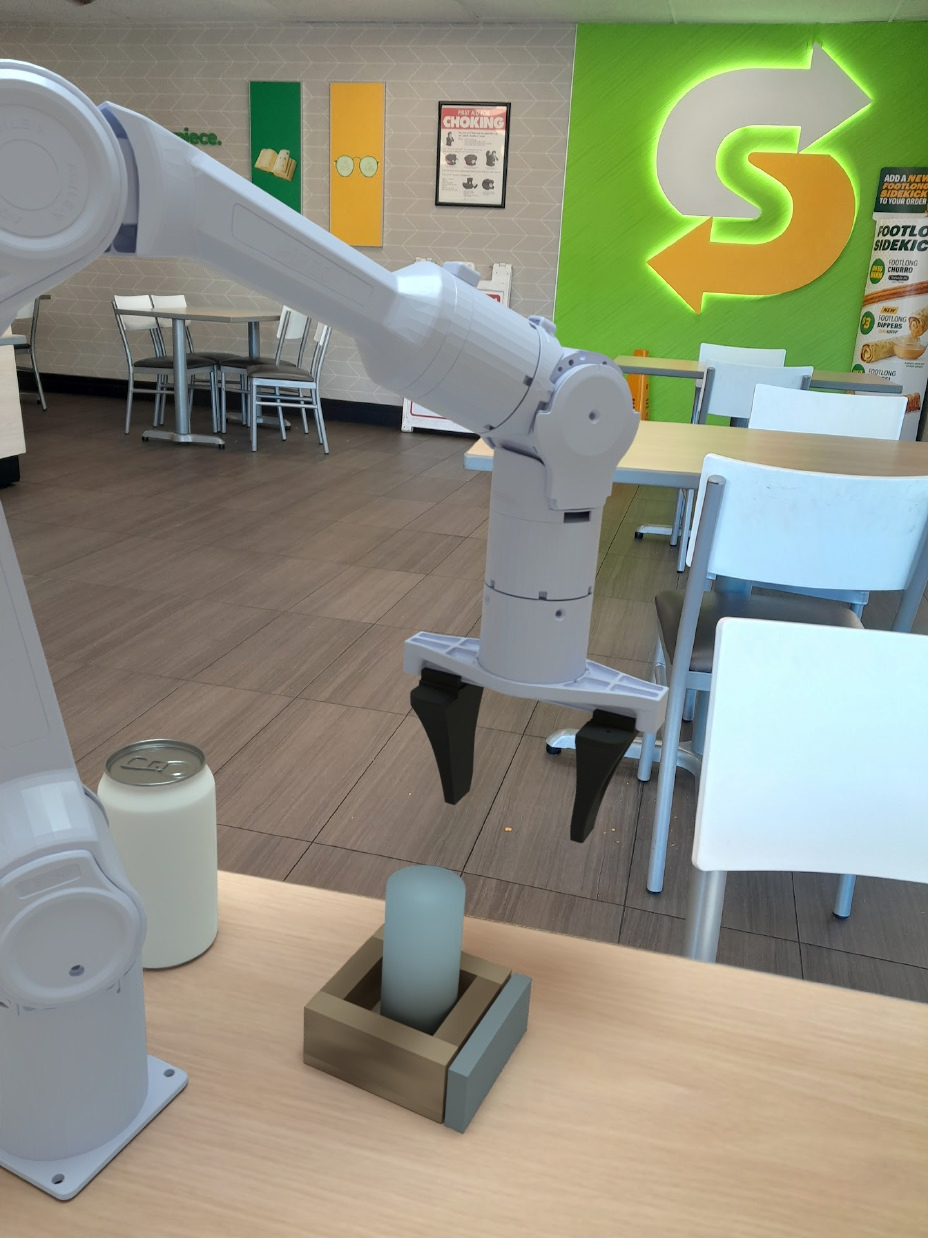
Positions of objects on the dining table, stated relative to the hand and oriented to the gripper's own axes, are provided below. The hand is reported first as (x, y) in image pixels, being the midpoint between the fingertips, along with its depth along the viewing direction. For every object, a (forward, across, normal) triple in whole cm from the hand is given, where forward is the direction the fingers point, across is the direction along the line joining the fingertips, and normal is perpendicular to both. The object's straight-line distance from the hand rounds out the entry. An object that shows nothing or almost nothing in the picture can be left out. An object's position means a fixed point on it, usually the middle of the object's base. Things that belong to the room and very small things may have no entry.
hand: (517, 814), depth 56 cm
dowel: (+10, +2, +8) cm, 13 cm away
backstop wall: (+10, -3, +8) cm, 14 cm away
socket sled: (+10, +2, +8) cm, 13 cm away
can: (+11, +19, +8) cm, 23 cm away
